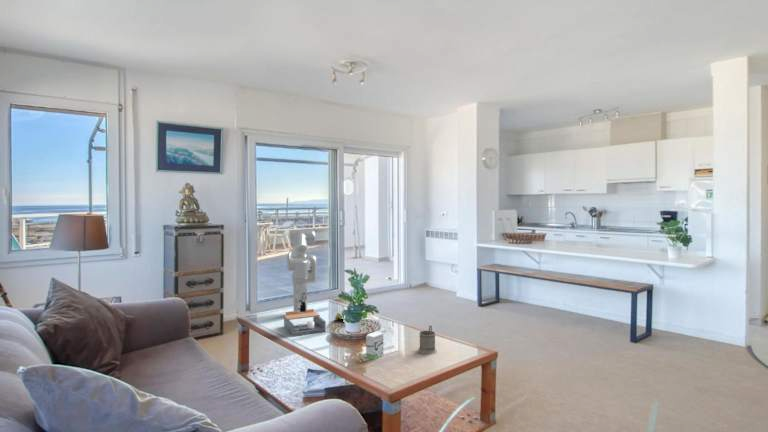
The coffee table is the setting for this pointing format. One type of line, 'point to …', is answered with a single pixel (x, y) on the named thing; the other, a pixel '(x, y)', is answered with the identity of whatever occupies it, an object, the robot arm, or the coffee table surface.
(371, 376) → the coffee table surface
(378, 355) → the ink box
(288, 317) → the lid
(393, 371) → the coffee table surface
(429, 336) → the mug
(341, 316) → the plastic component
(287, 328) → the housing
